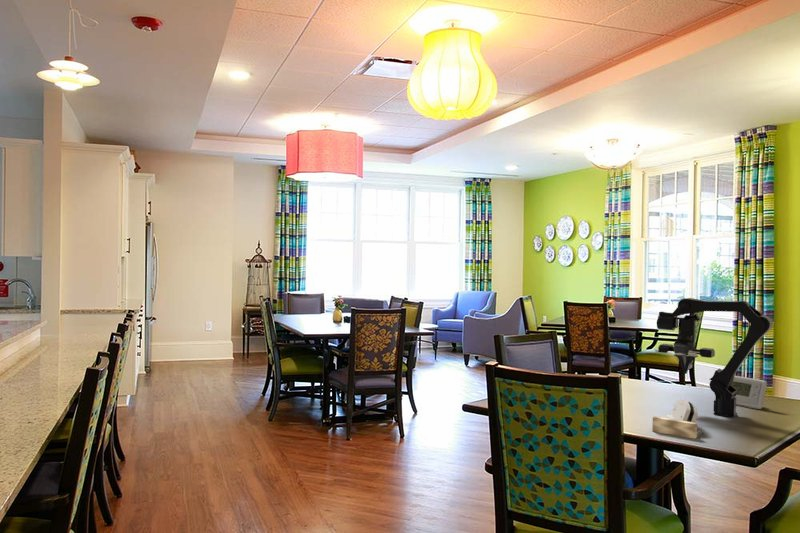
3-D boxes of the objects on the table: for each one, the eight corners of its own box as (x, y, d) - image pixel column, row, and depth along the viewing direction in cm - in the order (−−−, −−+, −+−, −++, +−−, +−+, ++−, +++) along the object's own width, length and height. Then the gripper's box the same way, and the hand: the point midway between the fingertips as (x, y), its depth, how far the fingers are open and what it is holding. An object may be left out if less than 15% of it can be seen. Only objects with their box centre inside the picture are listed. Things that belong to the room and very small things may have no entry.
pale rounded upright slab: (664, 419, 230) (675, 393, 229) (677, 425, 229) (688, 398, 228) (674, 432, 213) (686, 403, 212) (688, 438, 212) (701, 409, 211)
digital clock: (718, 401, 261) (718, 374, 260) (735, 400, 264) (736, 373, 264) (753, 411, 245) (754, 382, 245) (771, 409, 249) (772, 381, 249)
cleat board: (702, 433, 212) (702, 419, 212) (695, 438, 206) (695, 424, 206) (659, 426, 220) (660, 412, 220) (652, 431, 214) (652, 417, 214)
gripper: (654, 331, 246) (652, 373, 246) (708, 336, 234) (706, 380, 235) (663, 328, 255) (662, 369, 255) (715, 333, 243) (714, 376, 244)
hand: (685, 373), depth 247 cm, fingers closed
